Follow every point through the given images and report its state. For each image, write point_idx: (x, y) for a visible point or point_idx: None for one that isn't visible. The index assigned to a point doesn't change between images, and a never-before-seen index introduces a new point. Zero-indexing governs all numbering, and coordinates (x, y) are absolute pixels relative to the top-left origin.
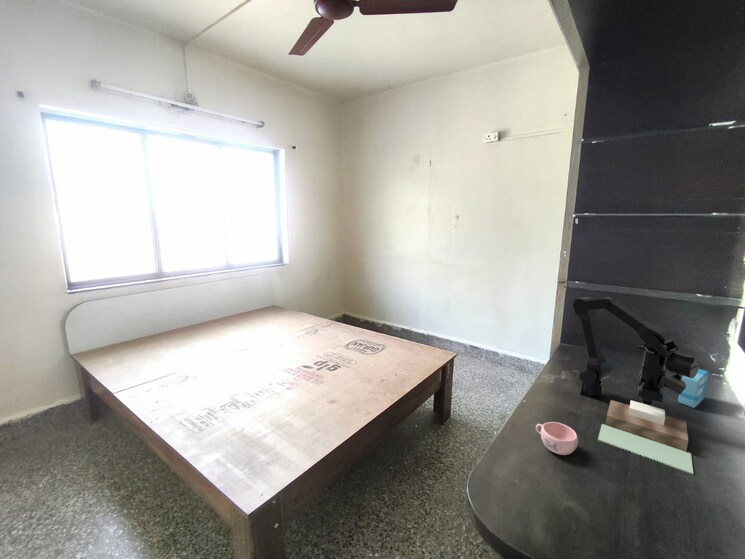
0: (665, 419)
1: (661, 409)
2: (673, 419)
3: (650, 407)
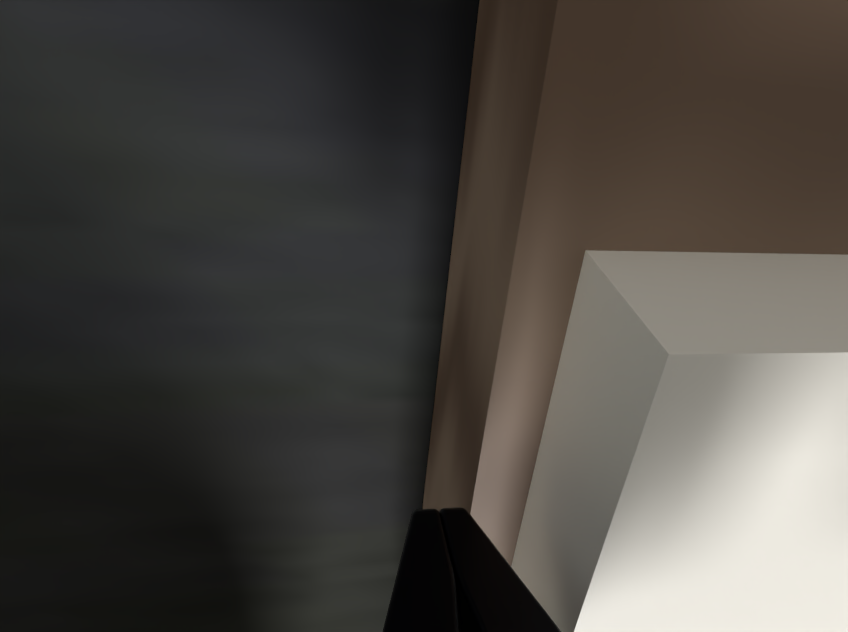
0: (710, 221)
1: (682, 413)
2: (639, 60)
3: (677, 569)
